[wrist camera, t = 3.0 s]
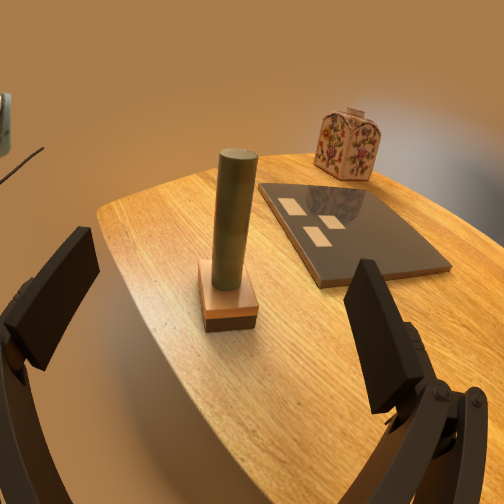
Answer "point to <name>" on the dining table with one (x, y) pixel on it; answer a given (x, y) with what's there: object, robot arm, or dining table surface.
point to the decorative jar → (347, 145)
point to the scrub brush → (230, 247)
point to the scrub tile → (349, 233)
